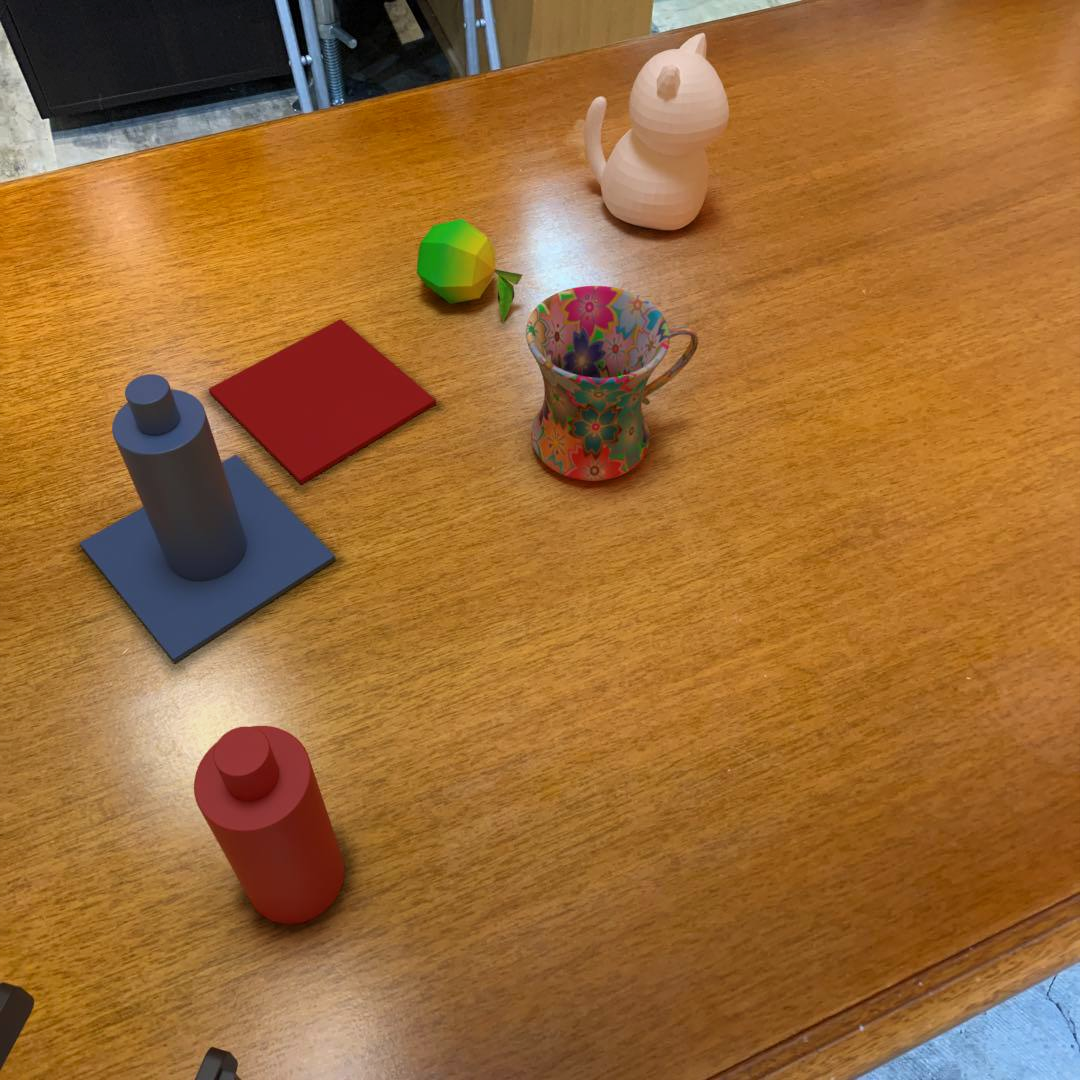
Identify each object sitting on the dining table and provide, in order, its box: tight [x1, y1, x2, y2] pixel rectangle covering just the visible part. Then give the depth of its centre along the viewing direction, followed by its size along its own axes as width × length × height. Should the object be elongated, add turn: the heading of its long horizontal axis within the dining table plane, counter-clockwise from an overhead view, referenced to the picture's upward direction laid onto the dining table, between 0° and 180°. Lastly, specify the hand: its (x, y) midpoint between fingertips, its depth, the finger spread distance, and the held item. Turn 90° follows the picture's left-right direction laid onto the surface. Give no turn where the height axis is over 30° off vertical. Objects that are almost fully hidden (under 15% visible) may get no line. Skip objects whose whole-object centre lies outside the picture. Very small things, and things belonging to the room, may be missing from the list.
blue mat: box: [79, 454, 337, 664], centre depth 71 cm, size 12×12×1 cm
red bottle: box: [193, 725, 346, 925], centre depth 52 cm, size 5×5×14 cm
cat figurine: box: [583, 32, 730, 231], centre depth 90 cm, size 9×12×15 cm
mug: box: [525, 285, 699, 482], centre depth 74 cm, size 12×9×11 cm
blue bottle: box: [111, 373, 247, 581], centre depth 65 cm, size 5×5×14 cm
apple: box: [416, 218, 523, 324], centre depth 86 cm, size 7×6×9 cm
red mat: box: [208, 318, 437, 485], centre depth 80 cm, size 12×12×1 cm
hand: (120, 1021), depth 41 cm, fingers open, 8 cm apart
